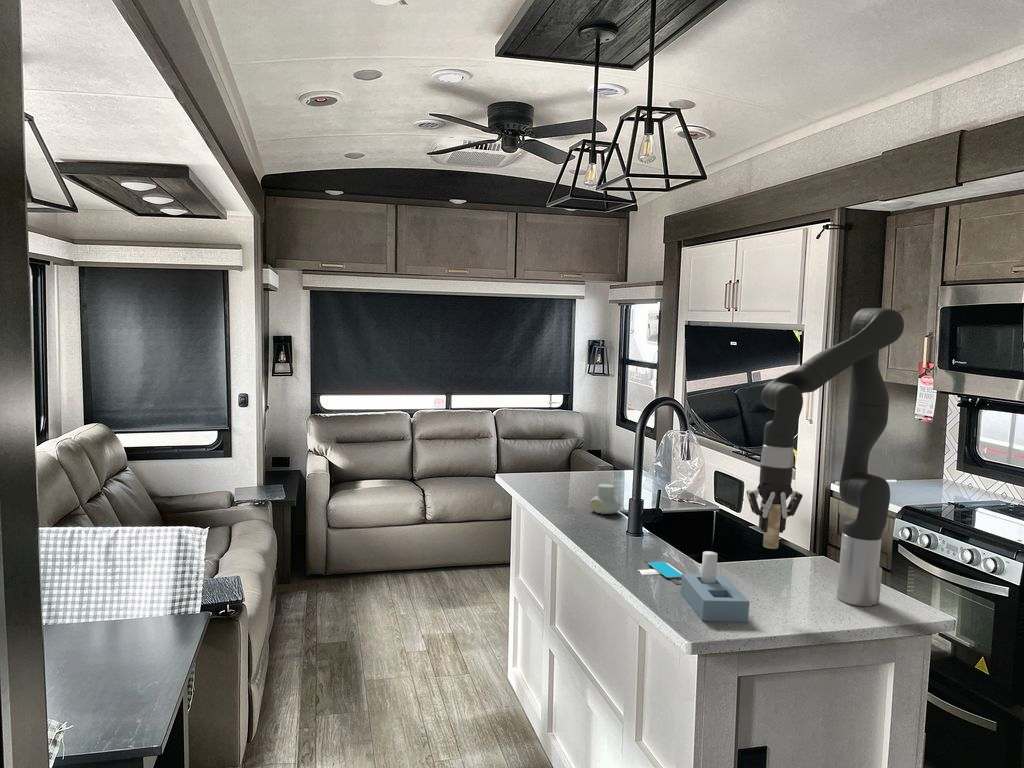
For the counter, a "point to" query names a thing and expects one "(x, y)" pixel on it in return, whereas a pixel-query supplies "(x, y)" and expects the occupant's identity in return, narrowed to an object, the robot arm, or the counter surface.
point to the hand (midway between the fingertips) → (771, 531)
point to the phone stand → (664, 570)
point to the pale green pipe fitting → (605, 500)
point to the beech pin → (773, 527)
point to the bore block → (714, 594)
